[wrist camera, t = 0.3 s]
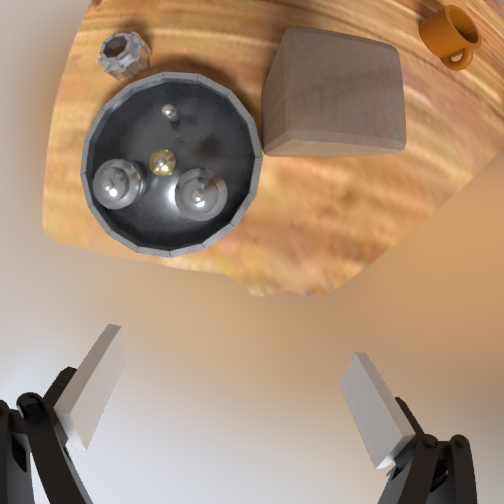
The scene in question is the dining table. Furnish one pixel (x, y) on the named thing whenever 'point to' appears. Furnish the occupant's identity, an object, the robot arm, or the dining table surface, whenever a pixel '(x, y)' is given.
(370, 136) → the wooden block
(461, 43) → the mug
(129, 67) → the gear
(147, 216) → the carrier
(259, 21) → the dining table surface
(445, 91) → the dining table surface
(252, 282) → the dining table surface
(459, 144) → the dining table surface
